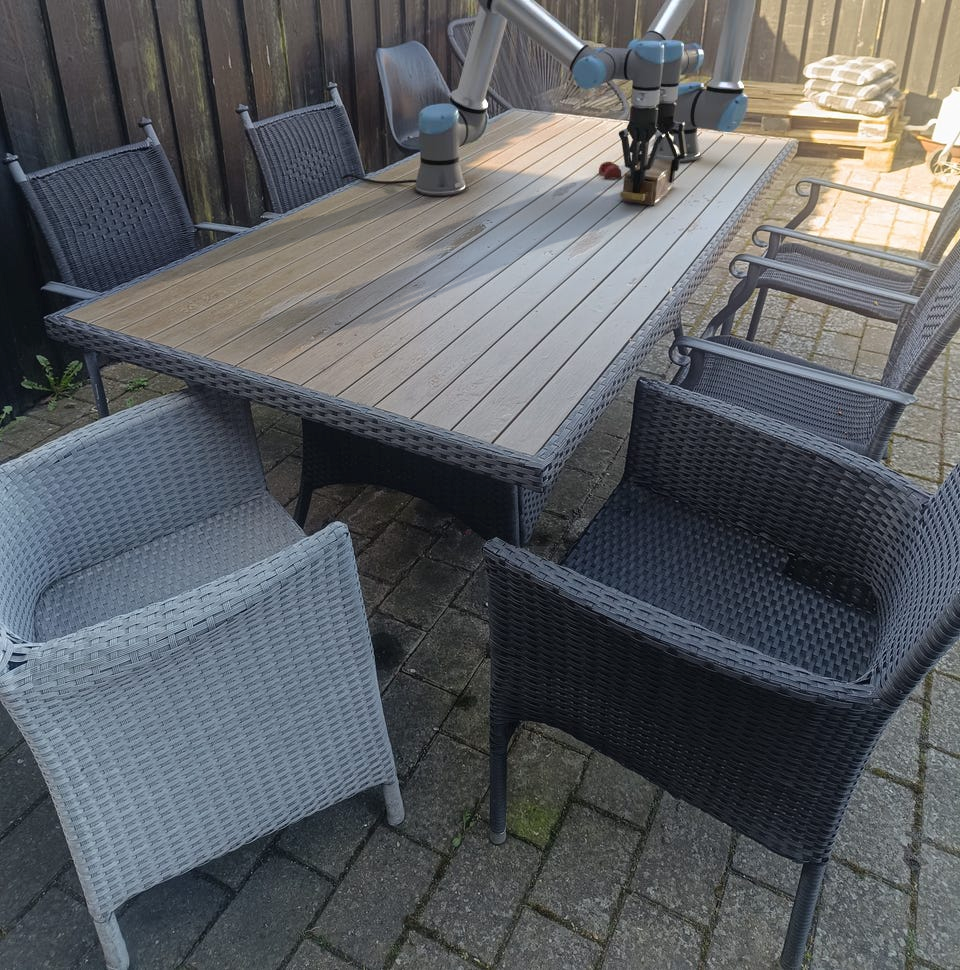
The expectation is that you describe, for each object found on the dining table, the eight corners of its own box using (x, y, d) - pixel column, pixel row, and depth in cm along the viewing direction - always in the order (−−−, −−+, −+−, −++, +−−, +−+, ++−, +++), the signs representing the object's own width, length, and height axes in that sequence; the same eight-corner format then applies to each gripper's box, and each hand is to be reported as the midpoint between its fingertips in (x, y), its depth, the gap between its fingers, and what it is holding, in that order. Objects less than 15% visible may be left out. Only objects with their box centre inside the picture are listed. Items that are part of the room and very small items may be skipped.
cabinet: (654, 205, 246) (657, 177, 241) (621, 201, 249) (624, 173, 245) (672, 187, 260) (676, 160, 255) (641, 183, 264) (644, 157, 259)
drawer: (645, 209, 240) (647, 187, 237) (616, 205, 243) (618, 183, 240) (668, 187, 257) (671, 166, 254) (640, 183, 260) (643, 163, 257)
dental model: (614, 158, 272) (623, 164, 265) (613, 171, 274) (622, 178, 268) (597, 159, 271) (606, 166, 264) (597, 173, 273) (606, 180, 267)
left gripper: (617, 106, 228) (610, 194, 242) (664, 110, 223) (654, 200, 237) (625, 100, 234) (618, 187, 247) (671, 104, 229) (661, 192, 243)
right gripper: (622, 99, 245) (615, 177, 258) (698, 107, 237) (687, 187, 250) (630, 94, 251) (623, 171, 264) (705, 101, 243) (694, 180, 256)
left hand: (636, 193), depth 242 cm, fingers closed
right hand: (654, 179), depth 257 cm, fingers closed on cabinet, 10 cm apart
